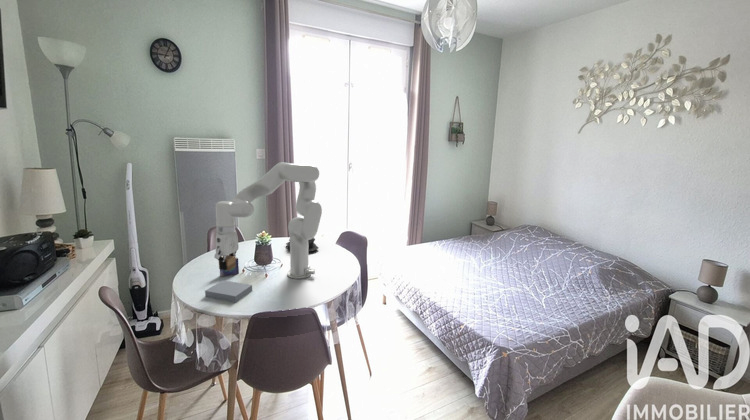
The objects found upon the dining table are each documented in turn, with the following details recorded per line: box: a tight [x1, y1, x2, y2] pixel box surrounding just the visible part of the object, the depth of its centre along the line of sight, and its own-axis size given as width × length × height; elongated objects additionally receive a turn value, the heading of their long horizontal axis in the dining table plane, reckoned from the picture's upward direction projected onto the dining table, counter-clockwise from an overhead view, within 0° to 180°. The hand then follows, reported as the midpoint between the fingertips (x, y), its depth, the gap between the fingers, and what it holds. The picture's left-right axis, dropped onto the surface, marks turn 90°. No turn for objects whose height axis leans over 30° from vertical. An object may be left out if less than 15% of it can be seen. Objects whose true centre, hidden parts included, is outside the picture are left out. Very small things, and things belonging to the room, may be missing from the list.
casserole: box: [285, 237, 319, 253], centre depth 216 cm, size 25×19×8 cm
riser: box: [204, 279, 253, 303], centre depth 150 cm, size 16×12×3 cm
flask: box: [219, 256, 240, 278], centre depth 170 cm, size 9×3×11 cm, turn 121°
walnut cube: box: [218, 255, 236, 270], centre depth 147 cm, size 5×5×5 cm
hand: (227, 266), depth 148 cm, fingers closed on walnut cube, 5 cm apart
